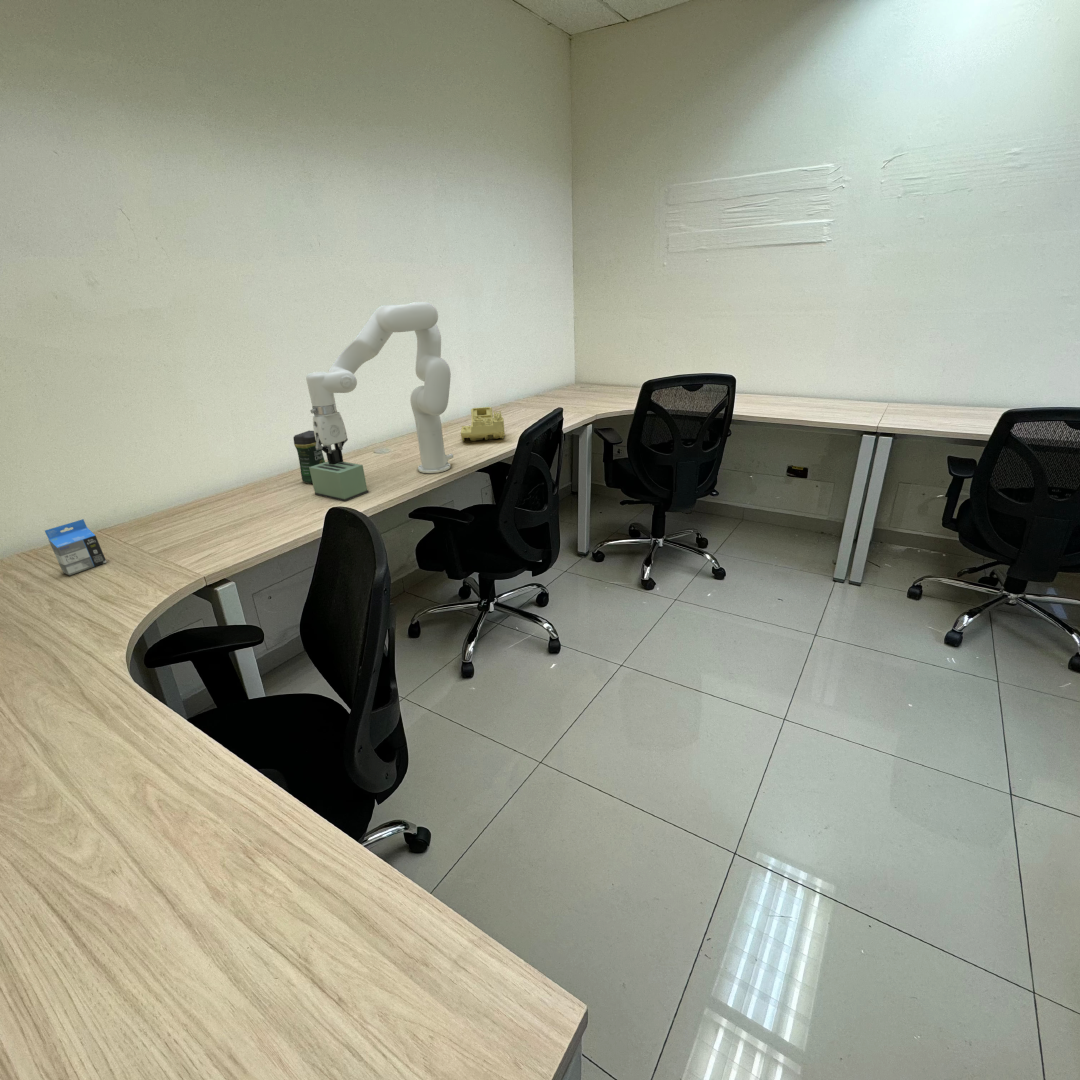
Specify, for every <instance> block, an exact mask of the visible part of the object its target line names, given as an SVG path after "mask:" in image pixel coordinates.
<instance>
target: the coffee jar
mask: <svg viewBox="0 0 1080 1080" xmlns="http://www.w3.org/2000/svg"><path fill="white" fill-rule="evenodd" d="M293 445H294V448H295V449H296V452H297V456H298V463H299V469H300V475H301V476H300V477H301V481H302V483H305V484H313V482H312V478H311V474H310V469H309V467H312V466H315V465H318V464H321V463H324V462H326V461H325V456H324V452H323V451H322V450H320V449H316V440H315V435H314V430H307V431H303V432H300V433H298V434H294V436H293Z"/></svg>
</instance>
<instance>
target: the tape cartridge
mask: <svg viewBox="0 0 1080 1080" xmlns="http://www.w3.org/2000/svg"><path fill="white" fill-rule="evenodd" d="M70 528H72V529H70ZM65 529H69V530H65ZM64 530H65V531H64ZM61 531H62V532H61ZM44 533H45V535H46V537H47V539H48V543H49V545H50V547H51V549H52V551H53V553H54V555H55V559H56V561H57V563H58V564H59V565H58V566H59V567H60V569H61V571H62V573H63V574H64V575H67V576H72V575H75V574H76V575H77V574H78V573H80V572H84V571H87V570H90V569H92V568H95V567H97V566H100V565H103V564H107V560H106V557H105V554H104V552H103V550H102V548H101V545H100V543H99V540H98V537H97V535H96V534H95V533H94V532H92V530H91V529H90V528H89V527H88V526H87V524H86V522H85V519H83V518H82V519H78V520H76V521H72V522H69V523H65V524H62V525H59V526H56V527H51V528H49V529H45V530H44Z"/></svg>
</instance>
